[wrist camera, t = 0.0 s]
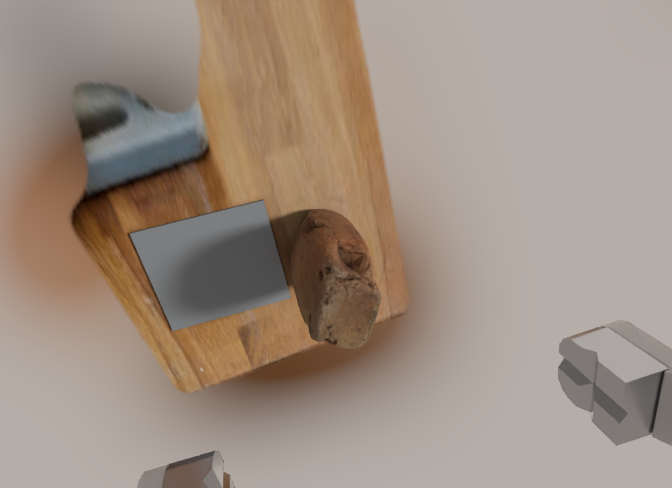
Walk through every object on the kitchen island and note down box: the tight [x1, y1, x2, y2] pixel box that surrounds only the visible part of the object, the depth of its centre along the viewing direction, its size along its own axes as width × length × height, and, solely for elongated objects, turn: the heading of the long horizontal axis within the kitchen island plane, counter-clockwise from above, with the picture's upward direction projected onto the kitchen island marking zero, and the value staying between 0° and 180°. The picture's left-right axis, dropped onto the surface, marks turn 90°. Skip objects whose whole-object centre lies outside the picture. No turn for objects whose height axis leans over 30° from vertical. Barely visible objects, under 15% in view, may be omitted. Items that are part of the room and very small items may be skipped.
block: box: [290, 209, 381, 348], centre depth 51 cm, size 11×8×20 cm
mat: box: [130, 200, 291, 331], centre depth 58 cm, size 16×18×1 cm
